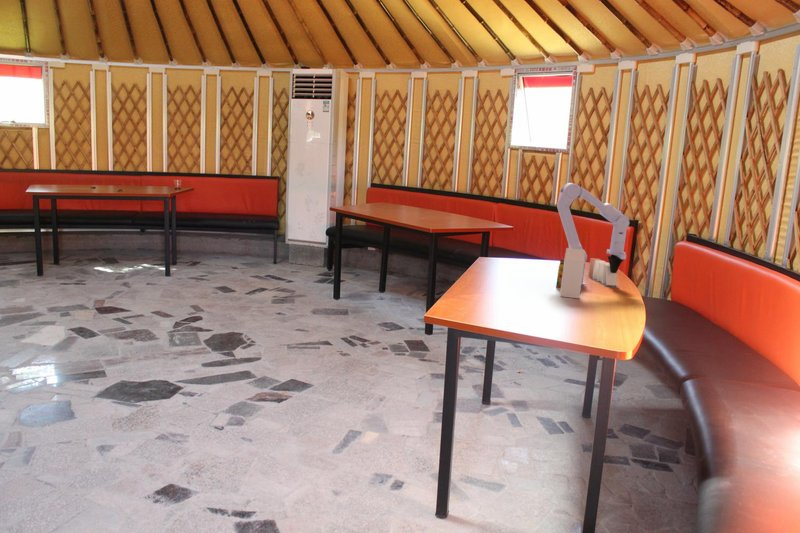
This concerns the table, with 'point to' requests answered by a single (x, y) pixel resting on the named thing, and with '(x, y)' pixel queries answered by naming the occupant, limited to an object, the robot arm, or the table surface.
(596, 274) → the tile
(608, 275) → the tile
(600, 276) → the tile
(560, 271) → the crayon box
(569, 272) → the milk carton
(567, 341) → the table surface
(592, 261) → the tile
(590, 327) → the table surface
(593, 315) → the table surface
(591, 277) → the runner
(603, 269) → the tile
